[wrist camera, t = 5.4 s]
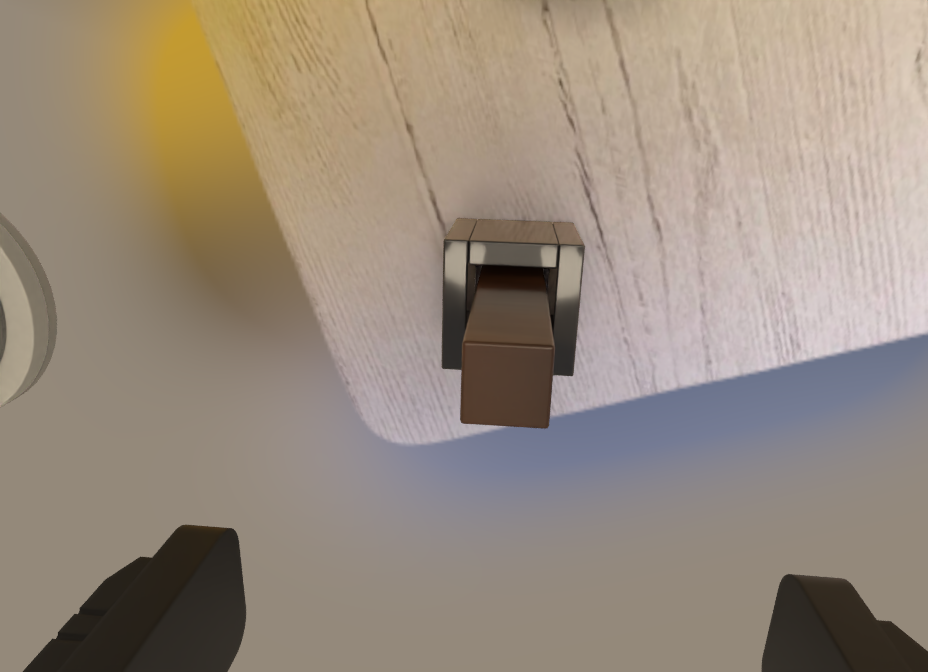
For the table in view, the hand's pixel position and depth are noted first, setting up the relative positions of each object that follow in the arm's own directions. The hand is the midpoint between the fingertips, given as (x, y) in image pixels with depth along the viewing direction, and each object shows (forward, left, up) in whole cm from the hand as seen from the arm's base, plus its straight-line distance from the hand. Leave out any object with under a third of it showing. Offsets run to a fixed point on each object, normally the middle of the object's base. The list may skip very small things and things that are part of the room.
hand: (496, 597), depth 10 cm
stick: (0, 0, -20) cm, 20 cm away
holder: (0, 0, -20) cm, 20 cm away
